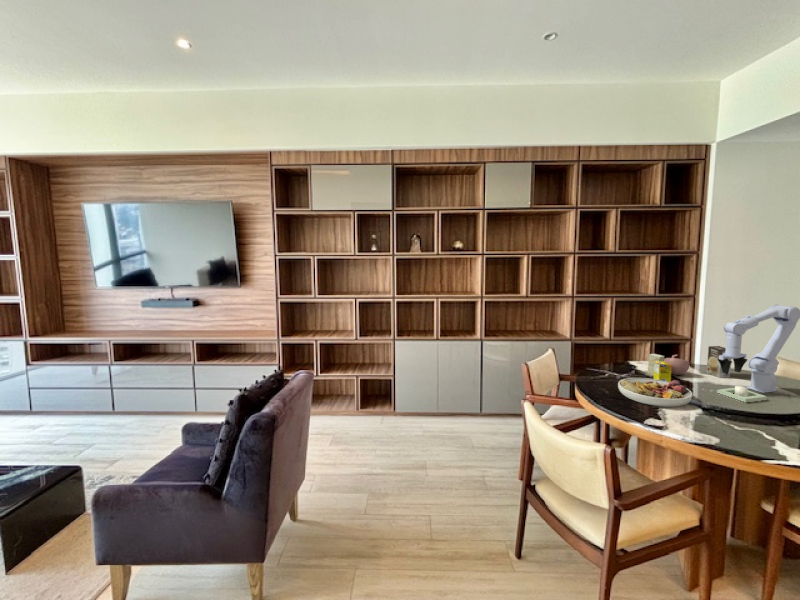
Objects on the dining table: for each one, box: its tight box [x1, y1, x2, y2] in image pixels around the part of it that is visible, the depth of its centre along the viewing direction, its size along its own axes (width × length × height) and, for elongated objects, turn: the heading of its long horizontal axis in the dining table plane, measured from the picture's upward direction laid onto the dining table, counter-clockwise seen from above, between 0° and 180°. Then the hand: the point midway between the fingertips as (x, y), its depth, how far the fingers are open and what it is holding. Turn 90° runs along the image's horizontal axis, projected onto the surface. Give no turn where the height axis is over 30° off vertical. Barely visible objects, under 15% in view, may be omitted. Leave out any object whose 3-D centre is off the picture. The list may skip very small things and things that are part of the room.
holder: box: [716, 387, 768, 402], centre depth 178 cm, size 13×13×2 cm
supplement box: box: [653, 361, 672, 382], centre depth 201 cm, size 6×6×11 cm
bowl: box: [617, 377, 693, 408], centre depth 181 cm, size 30×30×8 cm
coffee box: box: [706, 345, 732, 379], centre depth 209 cm, size 9×6×16 cm
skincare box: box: [647, 353, 665, 377], centre depth 211 cm, size 6×4×12 cm
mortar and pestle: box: [664, 354, 690, 376], centre depth 213 cm, size 12×12×11 cm
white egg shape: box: [734, 385, 749, 397], centre depth 178 cm, size 5×5×5 cm
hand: (731, 372), depth 186 cm, fingers open, 7 cm apart
